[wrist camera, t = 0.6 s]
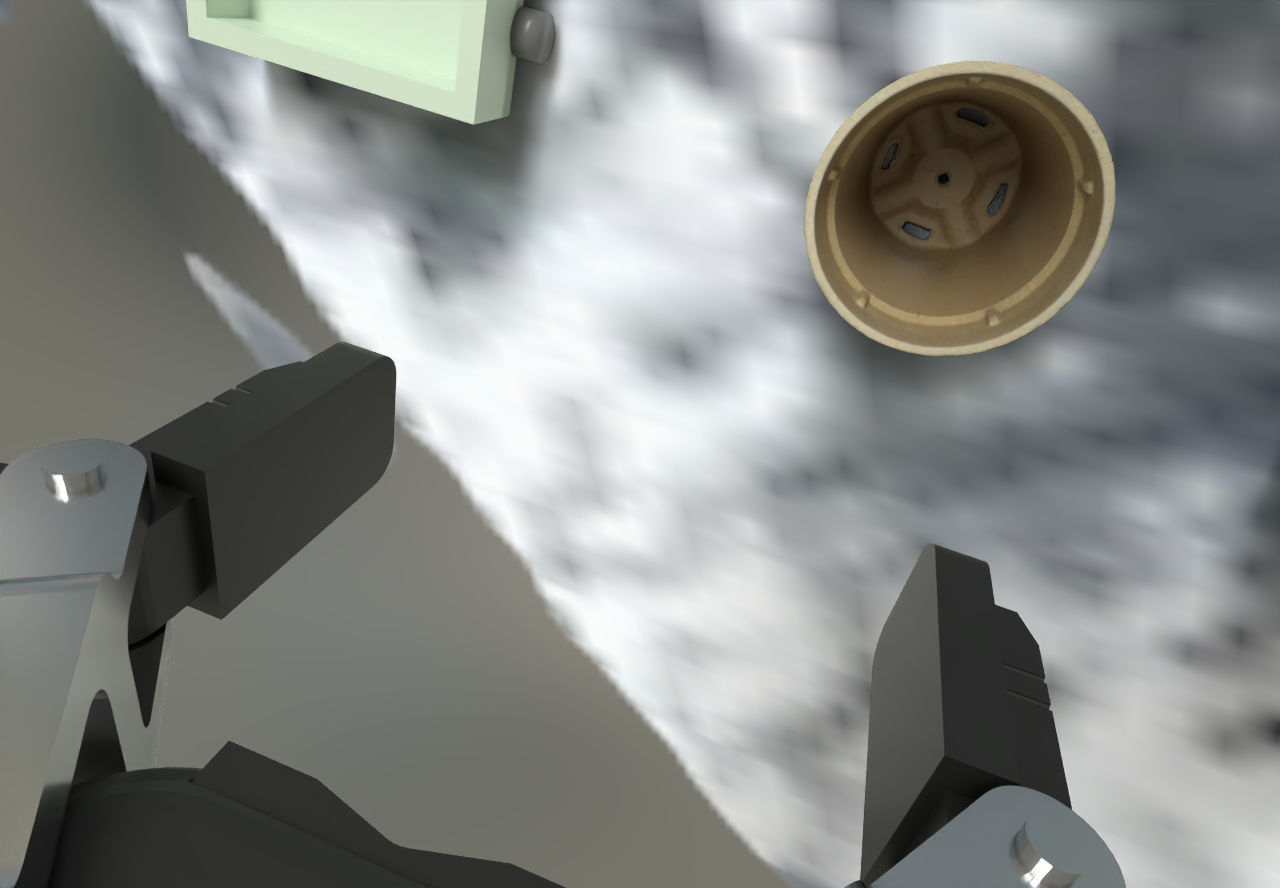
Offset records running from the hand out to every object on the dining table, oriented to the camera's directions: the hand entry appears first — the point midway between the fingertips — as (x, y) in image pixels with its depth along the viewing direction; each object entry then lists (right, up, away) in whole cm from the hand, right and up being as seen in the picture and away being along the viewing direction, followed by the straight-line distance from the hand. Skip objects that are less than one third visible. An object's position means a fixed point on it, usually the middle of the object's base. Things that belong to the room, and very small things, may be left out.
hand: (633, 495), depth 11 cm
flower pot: (+13, +12, +22) cm, 28 cm away
